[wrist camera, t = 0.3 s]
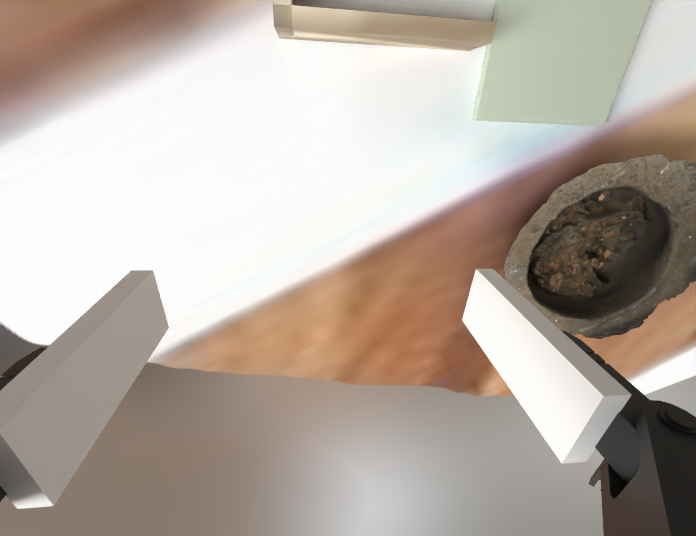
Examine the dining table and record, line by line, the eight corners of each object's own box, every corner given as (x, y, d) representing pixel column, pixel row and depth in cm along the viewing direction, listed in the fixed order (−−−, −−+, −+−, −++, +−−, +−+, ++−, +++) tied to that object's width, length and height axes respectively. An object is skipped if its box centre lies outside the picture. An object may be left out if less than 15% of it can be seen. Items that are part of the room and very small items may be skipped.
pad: (511, -73, 28) (517, -78, 28) (664, -55, 30) (674, -60, 29) (471, 120, 36) (475, 120, 35) (596, 125, 37) (603, 126, 37)
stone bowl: (667, 254, 47) (735, 289, 40) (510, 326, 54) (541, 368, 46) (651, 102, 36) (740, 107, 28) (455, 214, 42) (484, 244, 35)
